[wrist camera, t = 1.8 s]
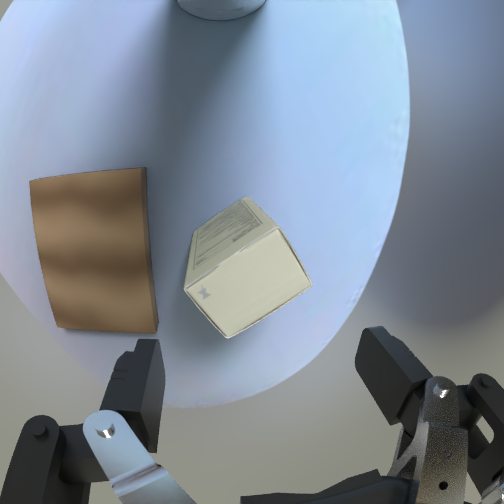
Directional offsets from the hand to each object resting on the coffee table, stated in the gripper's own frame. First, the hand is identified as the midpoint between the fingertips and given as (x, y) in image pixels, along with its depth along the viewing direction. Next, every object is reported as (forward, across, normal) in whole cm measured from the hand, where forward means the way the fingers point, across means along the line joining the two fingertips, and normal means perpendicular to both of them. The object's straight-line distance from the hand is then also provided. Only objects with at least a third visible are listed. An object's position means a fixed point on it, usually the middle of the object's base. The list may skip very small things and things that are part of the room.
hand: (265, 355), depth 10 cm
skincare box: (+18, 0, 0) cm, 18 cm away
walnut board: (+18, +14, +2) cm, 23 cm away
